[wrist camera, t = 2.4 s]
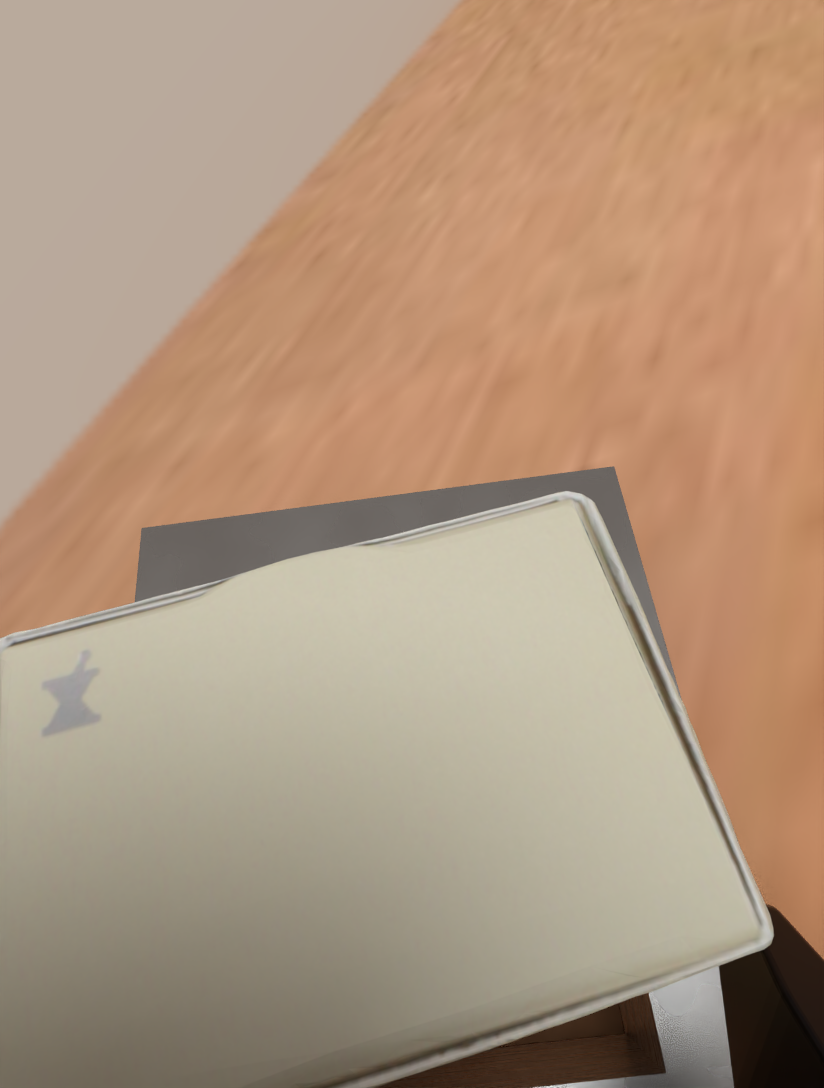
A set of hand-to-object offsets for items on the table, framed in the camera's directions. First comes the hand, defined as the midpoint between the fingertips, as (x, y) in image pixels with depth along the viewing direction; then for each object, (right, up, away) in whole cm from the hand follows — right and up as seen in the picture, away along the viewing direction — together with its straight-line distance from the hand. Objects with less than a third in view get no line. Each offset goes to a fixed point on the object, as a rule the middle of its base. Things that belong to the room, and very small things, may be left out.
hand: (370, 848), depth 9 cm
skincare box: (+1, -4, +8) cm, 9 cm away
